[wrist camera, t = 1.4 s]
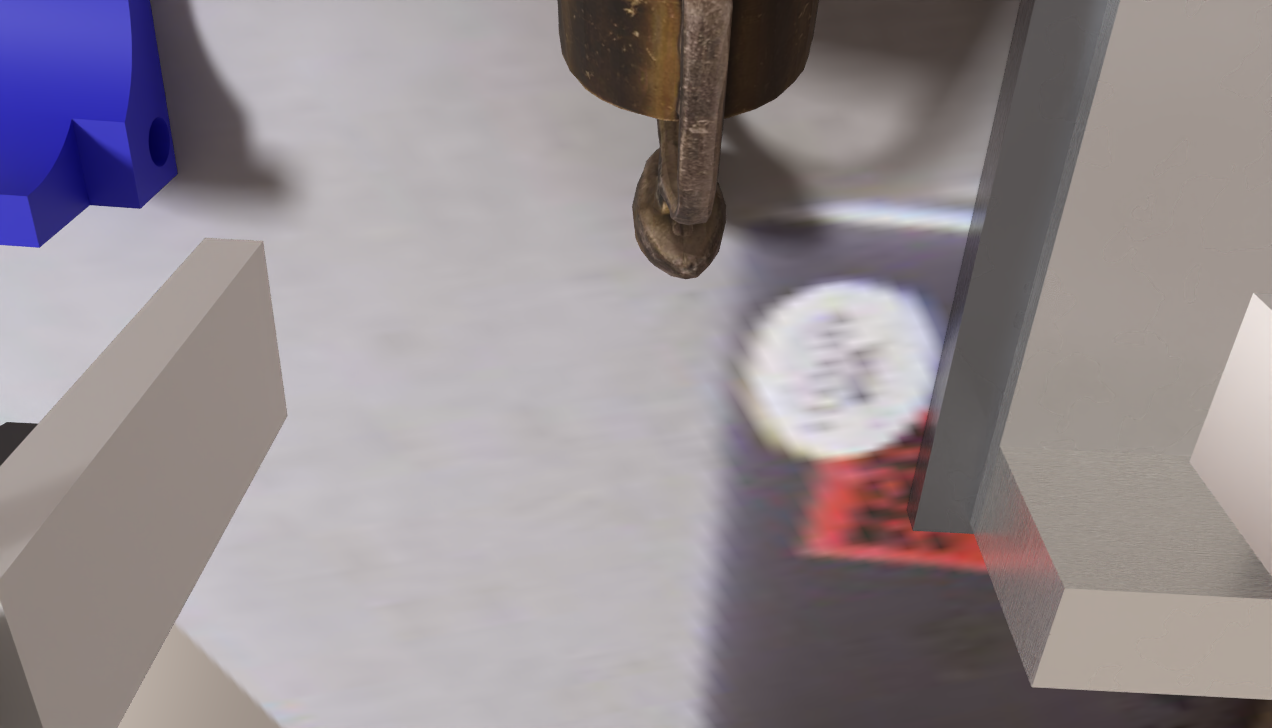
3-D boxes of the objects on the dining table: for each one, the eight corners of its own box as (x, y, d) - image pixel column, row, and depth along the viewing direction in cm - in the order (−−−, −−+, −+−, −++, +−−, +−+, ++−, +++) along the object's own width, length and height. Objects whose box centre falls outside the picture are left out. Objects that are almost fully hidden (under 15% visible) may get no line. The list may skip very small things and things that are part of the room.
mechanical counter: (782, -277, 28) (833, -275, 19) (868, 176, 34) (936, 331, 25) (518, -190, 29) (455, -151, 20) (648, 233, 35) (642, 399, 27)
